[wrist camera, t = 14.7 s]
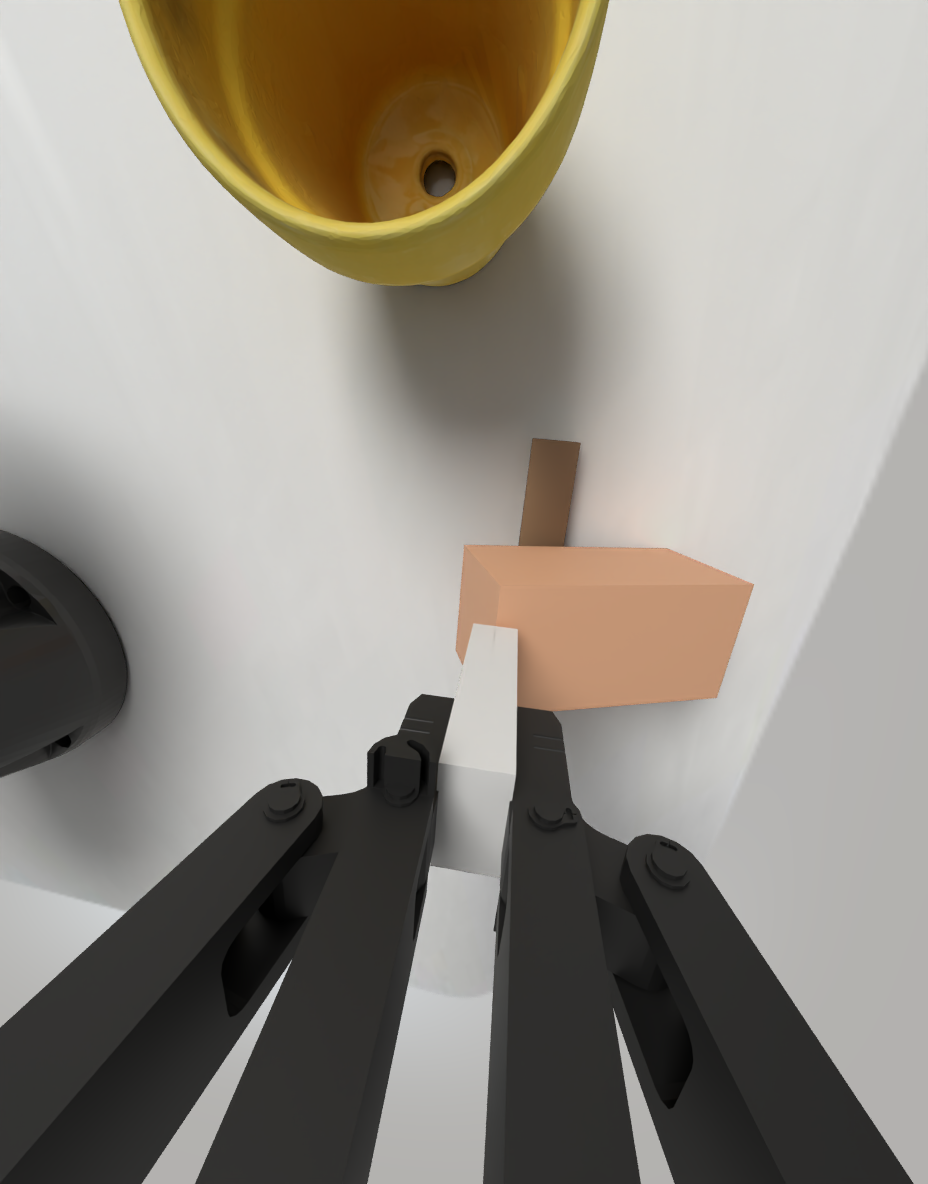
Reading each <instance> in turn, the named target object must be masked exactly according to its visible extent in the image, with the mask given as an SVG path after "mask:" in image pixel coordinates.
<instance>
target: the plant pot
mask: <svg viewBox="0 0 928 1184" xmlns="http://www.w3.org/2000/svg"><path fill="white" fill-rule="evenodd" d="M119 3H120V6H121V9H122V12H123V15H124V18H125V21H126V24H127V27H128V30H129V33H130V36H131V39H132V42H133V44H134V47H135V49H136V51H137V54H138V56H139V59H140V61H141V63H142V66H143V68H144V70H145V72H146V75H147V77H148V79H149V81H150V83H151V85H152V87H153V89H154V91H155V93H156V95H157V97H158V99H159V101H160V102H161V104H162V106H163V108H164V110H165V112H166V113H167V115H168V117H169V118H170V120H171V122H172V123H173V125H174V126H175V128H176V129H177V131H178V132H179V134H180V135H181V137H182V138H183V140H184V141H185V142H186V144H187V145H188V147H189V148H190V149H191V151H192V152H193V153H194V155H195V156H196V157H197V158H198V160H199V161H200V162H201V163H202V165H203V166H204V167H205V168H206V169H207V170H208V171H209V172H210V173H211V174H212V175H213V177H214V178H215V179H216V180H217V181H218V182H219V183H220V184H221V185H222V186H223V187H224V188H225V189H226V190H227V191H228V192H229V193H230V194H231V195H232V196H233V197H234V198H235V199H236V200H238V201H239V202H240V203H241V204H242V205H243V206H244V207H245V208H246V209H248V210H249V211H250V212H251V213H252V214H253V215H254V216H255V217H257V218H258V219H259V220H260V221H261V222H262V223H264V224H265V225H266V226H267V227H269V228H270V229H271V230H272V231H273V232H275V233H276V234H277V235H278V236H280V237H281V238H282V239H284V240H285V241H286V242H288V243H289V244H290V245H291V246H293V247H294V248H296V249H297V250H299V251H300V252H301V253H303V254H304V255H306V256H307V257H309V258H310V259H312V260H313V261H315V262H317V263H319V264H320V265H322V266H324V267H326V268H327V269H329V270H331V271H334V272H336V273H338V274H340V275H343V276H346V277H349V278H352V279H355V280H359V281H362V282H367V283H372V284H378V285H386V286H409V285H418V284H420V285H425V286H446V285H451V284H454V283H457V282H460V281H462V280H465V279H467V278H469V277H471V276H472V275H474V274H475V273H477V272H478V271H479V270H481V269H482V268H483V267H484V266H485V265H486V264H487V263H488V262H489V261H490V260H491V259H492V258H493V257H494V255H495V254H496V253H497V252H498V250H499V249H500V248H501V246H502V245H503V243H504V241H505V240H506V239H507V238H508V237H510V236H511V235H512V234H513V233H514V232H515V231H516V229H517V228H518V227H519V226H520V225H521V224H522V223H523V222H524V220H525V219H526V218H527V217H528V215H529V214H530V213H531V212H532V210H533V209H534V208H535V206H536V205H537V204H538V202H539V201H540V199H541V198H542V196H543V195H544V193H545V191H546V190H547V188H548V186H549V185H550V183H551V181H552V180H553V178H554V176H555V174H556V172H557V170H558V168H559V166H560V165H561V163H562V161H563V159H564V156H565V154H566V152H567V149H568V147H569V145H570V142H571V140H572V137H573V134H574V132H575V129H576V126H577V124H578V121H579V118H580V114H581V111H582V108H583V105H584V101H585V98H586V94H587V91H588V87H589V84H590V80H591V77H592V73H593V69H594V65H595V61H596V57H597V53H598V49H599V44H600V40H601V36H602V31H603V27H604V22H605V18H606V13H607V8H608V3H609V0H119ZM436 160H442V161H445V162H447V163H448V164H450V165H451V167H452V168H453V170H454V172H455V177H456V180H455V184H454V186H453V188H452V189H451V190H450V191H449V192H448V193H446V194H445V195H444V196H442V197H435V196H432V195H430V194H428V193H427V192H426V189H425V186H424V174H425V171H426V169H427V167H428V166H429V165H430V164H431V163H432V162H434V161H436Z"/></svg>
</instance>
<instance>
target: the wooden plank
mask: <svg viewBox="0 0 928 1184" xmlns="http://www.w3.org/2000/svg"><path fill="white" fill-rule="evenodd" d="M580 444H581V443H578V442H569V441H558V440H547V439H536V438H533V439H532V446H531V454H530V462H529V469H528V477H527V485H526V492H525V500H524V508H523V515H522V523H521V531H520V538H519V546H550V547H563V546H564V540H565V534H566V528H567V522H568V516H569V510H570V504H571V498H572V492H573V486H574V480H575V474H576V468H577V462H578V456H579V450H580Z"/></svg>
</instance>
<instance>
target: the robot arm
mask: <svg viewBox="0 0 928 1184" xmlns="http://www.w3.org/2000/svg"><path fill="white" fill-rule="evenodd" d="M517 656H518V629H514V628H506V627H498V626H490V625H483V624H475V623H473V627H472V631H471V635H470V639H469V643H468V647H467V651H466V655H465V659H464V663H463V667H462V671H461V675H460V679H459V683H458V687H457V691H456V695H455V699H454V698H447V697H440V696H433V695H426V694H421V695H420V696H419V697H418V698H417V699H415V700H414V701H413V702H412V703H411V704H410V705H409V708H408V710H407V712H406V715H405V719H404V720H403V722H402V725H401V727H400V730H399V732H398V734H397V735H394V736H390V737H386V738H384V739H382V740H380V741H378V742H377V743H375V744H374V745H373V746H372V747H371V749H370V750H369V751H368V752H367V787H365V788H364V789H361V790H359V791H356V792H353V793H348V794H342V795H333V796H324V797H322V794H321V792H320V790H319V788H318V787H317V786H316V785H314V784H313V783H311V782H310V781H308V780H303V779H298V778H294V779H284V780H280V781H278V782H275V783H272V784H269V785H268V786H266V787H265V788H263V789H262V790H260V791H259V792H257V793H256V794H255V795H254V796H253V797H252V798H251V799H249V800H248V801H247V802H246V803H245V804H244V805H243V806H242V807H241V808H240V809H239V810H237V811H236V812H235V813H234V814H233V815H232V816H231V817H230V818H229V819H228V820H227V821H225V822H224V823H223V824H222V825H221V826H220V827H219V828H218V829H217V830H216V831H215V832H213V833H212V834H211V835H210V836H209V837H208V838H207V839H206V840H205V841H204V842H203V843H201V844H200V845H199V846H198V847H197V848H196V849H195V850H194V851H193V852H192V853H191V854H189V855H188V856H187V857H186V858H185V859H184V860H183V861H182V862H181V863H180V864H179V865H177V866H176V867H175V868H174V869H173V870H172V871H171V872H170V873H169V874H168V875H167V876H165V877H164V878H163V879H162V880H161V881H160V882H159V883H158V884H157V885H156V886H154V887H153V888H152V889H151V890H150V891H149V892H148V893H147V894H146V895H145V896H144V897H142V898H141V899H140V900H139V901H138V902H137V903H136V904H135V905H134V906H133V907H132V908H130V909H129V910H128V911H127V912H126V913H125V914H124V915H123V916H122V917H121V918H120V919H118V920H117V921H116V922H115V923H114V924H113V925H112V926H111V927H110V928H109V929H108V930H106V931H105V932H104V933H103V934H102V935H101V936H100V937H99V938H98V939H97V940H96V941H95V942H93V943H92V944H91V945H90V946H89V947H88V948H87V949H86V950H85V951H84V952H82V953H81V954H80V955H79V956H78V957H77V958H76V959H75V960H74V961H73V962H72V963H70V965H68V966H67V967H66V968H65V969H64V970H63V971H62V972H61V973H60V974H59V975H58V976H56V977H55V978H54V979H53V980H52V981H51V982H50V983H49V984H48V985H46V986H45V987H44V988H43V989H42V990H41V991H40V992H39V993H38V994H37V995H36V996H34V997H33V998H32V999H31V1000H30V1001H29V1002H28V1003H27V1004H26V1005H25V1006H23V1008H21V1009H20V1010H19V1011H18V1012H17V1013H16V1014H15V1015H14V1016H13V1017H12V1018H10V1019H9V1020H8V1021H7V1022H6V1023H5V1024H4V1025H3V1026H2V1027H1V1028H0V1184H142V1182H143V1181H144V1179H145V1178H146V1176H147V1175H148V1173H149V1172H150V1170H151V1169H152V1167H153V1166H154V1164H155V1163H156V1161H157V1160H158V1158H159V1157H160V1155H161V1154H162V1152H163V1151H164V1149H165V1148H166V1146H167V1145H168V1143H169V1142H170V1141H171V1139H172V1138H173V1136H174V1135H175V1133H176V1132H177V1130H178V1129H179V1127H180V1126H181V1124H182V1123H183V1121H184V1120H185V1118H186V1116H187V1115H188V1114H189V1112H190V1111H191V1109H192V1108H193V1106H194V1105H195V1103H196V1102H197V1100H198V1099H199V1097H200V1096H201V1094H202V1093H203V1091H204V1089H205V1088H206V1087H207V1085H208V1084H209V1082H210V1081H211V1079H212V1078H213V1076H214V1075H215V1073H216V1072H217V1070H218V1069H219V1067H220V1066H221V1064H222V1063H223V1061H224V1060H225V1058H226V1057H227V1055H228V1054H229V1053H230V1051H231V1050H232V1048H233V1047H234V1045H235V1044H236V1042H237V1040H238V1039H239V1038H240V1036H241V1035H242V1033H243V1032H244V1030H245V1029H246V1027H247V1026H248V1024H249V1023H250V1021H251V1019H252V1018H253V1017H254V1015H255V1014H256V1012H257V1011H258V1009H259V1008H260V1006H261V1005H262V1003H263V1002H264V1000H265V999H266V997H267V996H268V994H269V993H270V991H271V990H272V988H273V987H274V985H275V984H276V982H277V981H278V979H279V978H280V976H281V975H282V973H283V972H284V970H285V969H286V968H287V966H288V964H289V963H290V961H291V960H292V962H291V964H290V966H289V968H288V971H287V973H286V975H285V978H284V980H283V982H282V984H281V987H280V989H279V992H278V994H277V996H276V998H275V1001H274V1003H273V1005H272V1007H271V1010H270V1012H269V1015H268V1017H267V1019H266V1021H265V1024H264V1026H263V1028H262V1031H261V1033H260V1035H259V1038H258V1040H257V1042H256V1044H255V1047H254V1049H253V1051H252V1054H251V1056H250V1058H249V1061H248V1063H247V1065H246V1067H245V1070H244V1072H243V1074H242V1077H241V1079H240V1081H239V1084H238V1086H237V1088H236V1091H235V1093H234V1095H233V1098H232V1100H231V1102H230V1105H229V1107H228V1109H227V1111H226V1114H225V1116H224V1118H223V1121H222V1123H221V1125H220V1128H219V1130H218V1132H217V1134H216V1137H215V1139H214V1141H213V1144H212V1146H211V1148H210V1151H209V1153H208V1155H207V1158H206V1160H205V1162H204V1164H203V1167H202V1169H201V1171H200V1174H199V1176H198V1178H197V1181H196V1183H195V1184H367V1182H368V1177H369V1172H370V1167H371V1162H372V1158H373V1152H374V1147H375V1143H376V1138H377V1133H378V1128H379V1123H380V1118H381V1114H382V1108H383V1104H384V1099H385V1093H386V1089H387V1084H388V1079H389V1074H390V1068H391V1064H392V1059H393V1055H394V1050H395V1045H396V1040H397V1035H398V1030H399V1025H400V1020H401V1015H402V1010H403V1006H404V1001H405V996H406V991H407V986H408V981H409V976H410V971H411V966H412V961H413V956H414V952H415V947H416V942H417V937H418V932H419V927H420V922H421V917H422V912H423V907H424V902H425V898H426V893H427V880H428V872H429V867H430V862H431V866H436V867H442V868H447V869H453V870H459V871H464V872H468V873H474V874H480V875H486V876H491V877H497V878H500V893H499V899H498V906H497V912H496V918H495V925H494V931H496V946H495V965H494V984H493V1003H492V1024H491V1042H490V1061H489V1081H488V1099H487V1120H486V1140H485V1159H484V1176H483V1184H641V1182H640V1176H639V1169H638V1163H637V1157H636V1151H635V1145H634V1138H633V1131H632V1125H631V1119H630V1112H629V1106H628V1100H627V1094H626V1087H625V1081H624V1075H623V1068H622V1062H621V1056H620V1050H619V1043H618V1037H617V1030H616V1024H615V1018H614V1011H615V1014H616V1017H617V1020H618V1023H619V1026H620V1028H621V1031H622V1034H623V1037H624V1040H625V1043H626V1045H627V1048H628V1051H629V1054H630V1057H631V1060H632V1063H633V1066H634V1068H635V1071H636V1074H637V1077H638V1080H639V1083H640V1085H641V1089H642V1091H643V1094H644V1097H645V1100H646V1103H647V1106H648V1108H649V1111H650V1114H651V1117H652V1120H653V1123H654V1125H655V1129H656V1131H657V1134H658V1137H659V1140H660V1143H661V1146H662V1149H663V1151H664V1154H665V1157H666V1160H667V1163H668V1165H669V1168H670V1171H671V1174H672V1177H673V1180H674V1183H675V1184H913V1182H912V1181H911V1179H910V1178H909V1176H908V1175H907V1173H906V1172H905V1170H904V1169H903V1167H902V1165H901V1164H900V1162H899V1161H898V1159H897V1158H896V1156H895V1155H894V1153H893V1152H892V1150H891V1149H890V1147H889V1146H888V1144H887V1143H886V1142H885V1140H884V1138H883V1137H882V1136H881V1134H880V1132H879V1131H878V1129H877V1128H876V1126H875V1125H874V1123H873V1122H872V1120H871V1119H870V1117H869V1116H868V1114H867V1113H866V1111H865V1110H864V1108H863V1107H862V1105H861V1104H860V1102H859V1101H858V1100H857V1098H856V1096H855V1095H854V1093H853V1092H852V1090H851V1089H850V1087H849V1086H848V1084H847V1083H846V1081H845V1080H844V1078H843V1077H842V1075H841V1074H840V1072H839V1071H838V1069H837V1068H836V1066H835V1065H834V1063H833V1062H832V1060H831V1059H830V1057H829V1056H828V1054H827V1053H826V1051H825V1050H824V1048H823V1047H822V1045H821V1044H820V1042H819V1040H818V1039H817V1037H816V1036H815V1034H814V1033H813V1032H812V1030H811V1028H810V1027H809V1025H808V1024H807V1022H806V1021H805V1019H804V1018H803V1016H802V1015H801V1013H800V1012H799V1010H798V1009H797V1007H796V1006H795V1004H794V1003H793V1001H792V1000H791V998H790V997H789V995H788V994H787V992H786V991H785V989H784V988H783V986H782V985H781V983H780V982H779V980H778V979H777V977H776V976H775V974H774V973H773V971H772V970H771V968H770V967H769V965H768V964H767V962H766V961H765V959H764V958H763V956H762V955H761V953H760V952H759V950H758V949H757V947H756V946H755V944H754V943H753V941H752V940H751V938H750V937H749V935H748V934H747V932H746V930H745V929H744V927H743V926H742V925H741V923H740V921H739V920H738V918H737V917H736V916H735V914H734V913H733V911H732V909H731V908H730V906H729V905H728V903H727V902H726V901H725V899H724V897H723V896H722V894H721V893H720V891H719V890H718V888H717V887H716V885H715V884H714V882H713V881H712V879H711V878H710V876H709V875H708V873H707V872H706V870H705V869H704V867H703V866H702V865H701V863H700V862H699V861H698V860H697V859H696V858H695V857H694V855H693V854H692V853H691V852H689V851H688V850H687V849H685V848H684V847H683V846H681V845H680V844H678V843H677V842H675V841H672V840H670V839H668V838H665V837H663V836H659V835H651V834H645V835H642V836H638V837H635V838H634V839H633V840H632V841H631V842H630V843H629V844H628V845H626V844H624V843H621V842H619V841H617V840H615V839H612V838H610V837H608V836H606V835H604V834H602V833H600V832H598V831H596V830H595V829H594V828H592V827H591V826H590V825H588V824H587V823H586V822H585V821H584V820H583V819H582V816H581V814H580V811H579V809H578V808H577V807H576V806H575V805H574V804H573V801H572V798H571V791H570V783H569V776H568V769H567V762H566V755H565V748H564V741H563V734H562V727H561V723H560V722H559V721H558V719H557V718H556V717H555V715H554V714H553V712H552V711H547V710H540V709H533V708H526V707H519V706H517ZM126 684H127V673H126V664H125V659H124V655H123V651H122V648H121V645H120V642H119V639H118V637H117V634H116V632H115V630H114V628H113V626H112V624H111V622H110V620H109V618H108V616H107V615H106V613H105V612H104V610H103V608H102V607H101V605H100V604H99V603H98V601H97V600H96V598H95V597H94V596H93V595H92V593H91V592H90V591H89V590H88V589H87V587H86V586H85V585H84V584H83V583H82V582H81V581H80V580H79V579H78V578H77V577H76V576H75V575H74V574H73V573H72V572H71V571H70V570H69V569H68V568H67V567H65V566H64V565H63V564H62V563H61V562H59V561H58V560H57V559H55V558H54V557H53V556H51V555H50V554H48V553H47V552H46V551H44V550H42V549H41V548H39V547H38V546H36V545H34V544H32V543H30V542H29V541H27V540H25V539H22V538H20V537H18V536H16V535H13V534H11V533H8V532H5V531H2V530H0V778H1V777H4V776H7V775H9V774H12V773H15V772H17V771H20V770H23V769H26V768H28V767H31V766H34V765H37V764H39V763H42V762H45V761H47V760H50V759H53V758H56V757H58V756H61V755H63V754H65V753H67V752H69V751H71V750H73V749H74V748H76V747H78V746H79V745H81V744H82V743H83V742H85V741H86V740H88V739H89V738H91V737H92V736H93V735H95V734H96V733H98V732H99V731H101V730H102V729H103V728H105V727H106V726H107V725H108V724H109V723H111V722H112V720H113V719H114V718H115V717H116V715H117V714H118V712H119V710H120V708H121V706H122V704H123V701H124V697H125V693H126ZM500 874H501V875H500ZM613 1008H614V1011H613Z"/></svg>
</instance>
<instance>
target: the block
mask: <svg viewBox="0 0 928 1184" xmlns="http://www.w3.org/2000/svg"><path fill="white" fill-rule="evenodd" d="M753 586H754V584H752V583H749V582H747V581H744V580H742V579H740V578H737V577H735V576H732V575H730V574H728V573H725V572H723V571H720V570H718V569H715V568H713V567H711V566H708V565H706V564H703V563H701V562H699V561H696V560H694V559H691V558H689V557H687V556H684V555H682V554H679V553H677V552H674V551H672V550H670V549H666V548H608V547H550V546H492V545H464V555H463V567H462V579H461V592H460V604H459V616H458V628H457V641H456V652H457V654H458V656H459V659H460V661H461V663H462V665H463V663H464V659H465V655H466V651H467V647H468V643H469V639H470V635H471V631H472V627H473V623H475V624H483V625H490V626H498V627H506V628H514V629H518V656H517V706H519V707H526V708H533V709H540V710H547V711H562V710H574V709H587V708H599V707H611V706H623V705H635V704H647V703H660V702H672V701H684V700H696V699H708V698H717V695H718V692H719V689H720V686H721V683H722V680H723V677H724V674H725V671H726V668H727V665H728V662H729V659H730V656H731V653H732V650H733V647H734V644H735V641H736V638H737V635H738V632H739V629H740V626H741V623H742V620H743V617H744V614H745V611H746V608H747V605H748V602H749V599H750V595H751V592H752V589H753Z"/></svg>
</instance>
